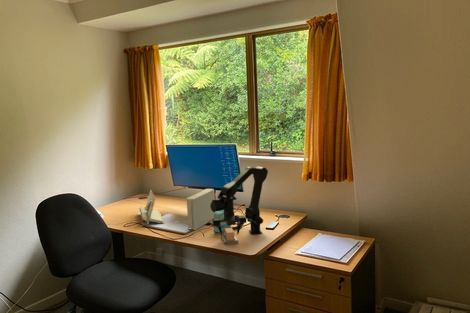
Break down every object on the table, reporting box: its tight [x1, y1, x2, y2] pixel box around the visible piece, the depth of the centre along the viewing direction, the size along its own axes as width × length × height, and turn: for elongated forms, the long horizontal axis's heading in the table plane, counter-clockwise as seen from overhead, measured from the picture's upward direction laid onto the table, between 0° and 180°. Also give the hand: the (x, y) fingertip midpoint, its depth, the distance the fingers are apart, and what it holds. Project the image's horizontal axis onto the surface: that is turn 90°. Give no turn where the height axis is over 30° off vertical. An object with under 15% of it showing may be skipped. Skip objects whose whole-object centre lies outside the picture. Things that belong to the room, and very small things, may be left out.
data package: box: [213, 210, 232, 234], centre depth 225 cm, size 12×4×12 cm, turn 148°
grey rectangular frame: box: [220, 234, 239, 246], centre depth 208 cm, size 12×8×2 cm, turn 11°
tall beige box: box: [224, 227, 236, 241], centre depth 208 cm, size 8×4×6 cm, turn 11°
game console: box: [186, 188, 216, 231], centre depth 239 cm, size 6×27×20 cm, turn 156°
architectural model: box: [138, 189, 165, 225], centre depth 252 cm, size 20×29×21 cm
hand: (229, 235), depth 208 cm, fingers open, 9 cm apart
